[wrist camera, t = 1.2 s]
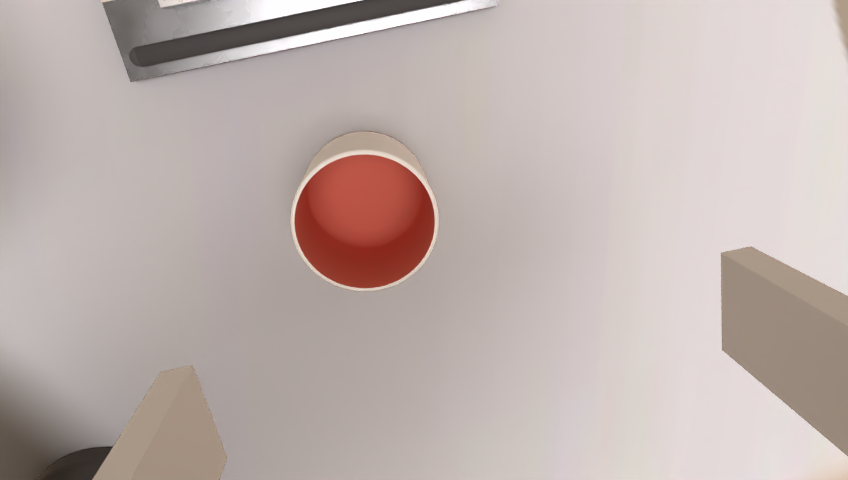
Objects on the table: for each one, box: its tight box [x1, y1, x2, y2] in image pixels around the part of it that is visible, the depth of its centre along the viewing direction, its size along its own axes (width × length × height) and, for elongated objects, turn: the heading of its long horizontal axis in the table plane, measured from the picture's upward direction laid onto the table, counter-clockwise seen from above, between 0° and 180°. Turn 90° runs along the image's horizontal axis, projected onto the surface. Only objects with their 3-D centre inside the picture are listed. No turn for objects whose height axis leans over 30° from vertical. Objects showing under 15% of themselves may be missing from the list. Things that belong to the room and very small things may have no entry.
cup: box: [290, 131, 439, 291], centre depth 43 cm, size 10×10×10 cm
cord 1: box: [129, 0, 462, 67], centre depth 41 cm, size 26×1×1 cm, turn 101°
